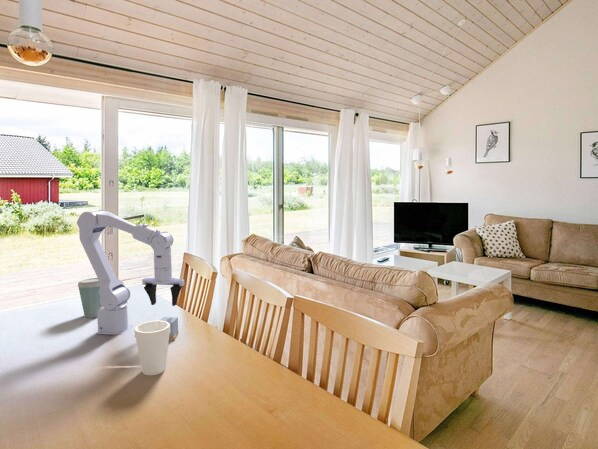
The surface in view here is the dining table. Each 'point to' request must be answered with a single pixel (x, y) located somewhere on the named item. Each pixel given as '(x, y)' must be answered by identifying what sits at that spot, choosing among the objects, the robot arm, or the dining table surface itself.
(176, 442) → the dining table surface
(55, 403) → the dining table surface
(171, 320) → the cube
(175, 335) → the slab top
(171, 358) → the dining table surface
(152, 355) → the foam cup
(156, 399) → the dining table surface
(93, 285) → the disposable coffee cup
